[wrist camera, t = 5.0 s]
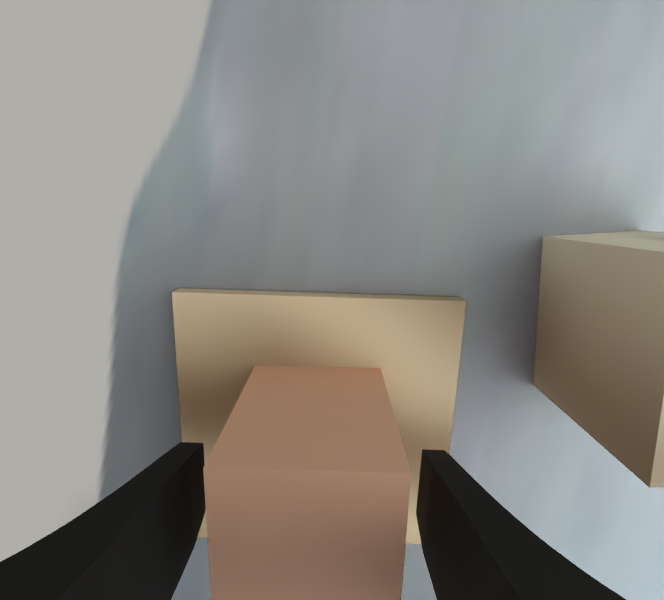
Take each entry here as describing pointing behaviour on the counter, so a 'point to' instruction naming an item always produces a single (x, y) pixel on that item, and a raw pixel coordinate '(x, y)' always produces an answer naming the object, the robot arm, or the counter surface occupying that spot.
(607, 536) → the counter surface
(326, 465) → the terracotta cube
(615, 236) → the beech block
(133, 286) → the counter surface
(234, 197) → the counter surface
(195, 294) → the cork coaster
